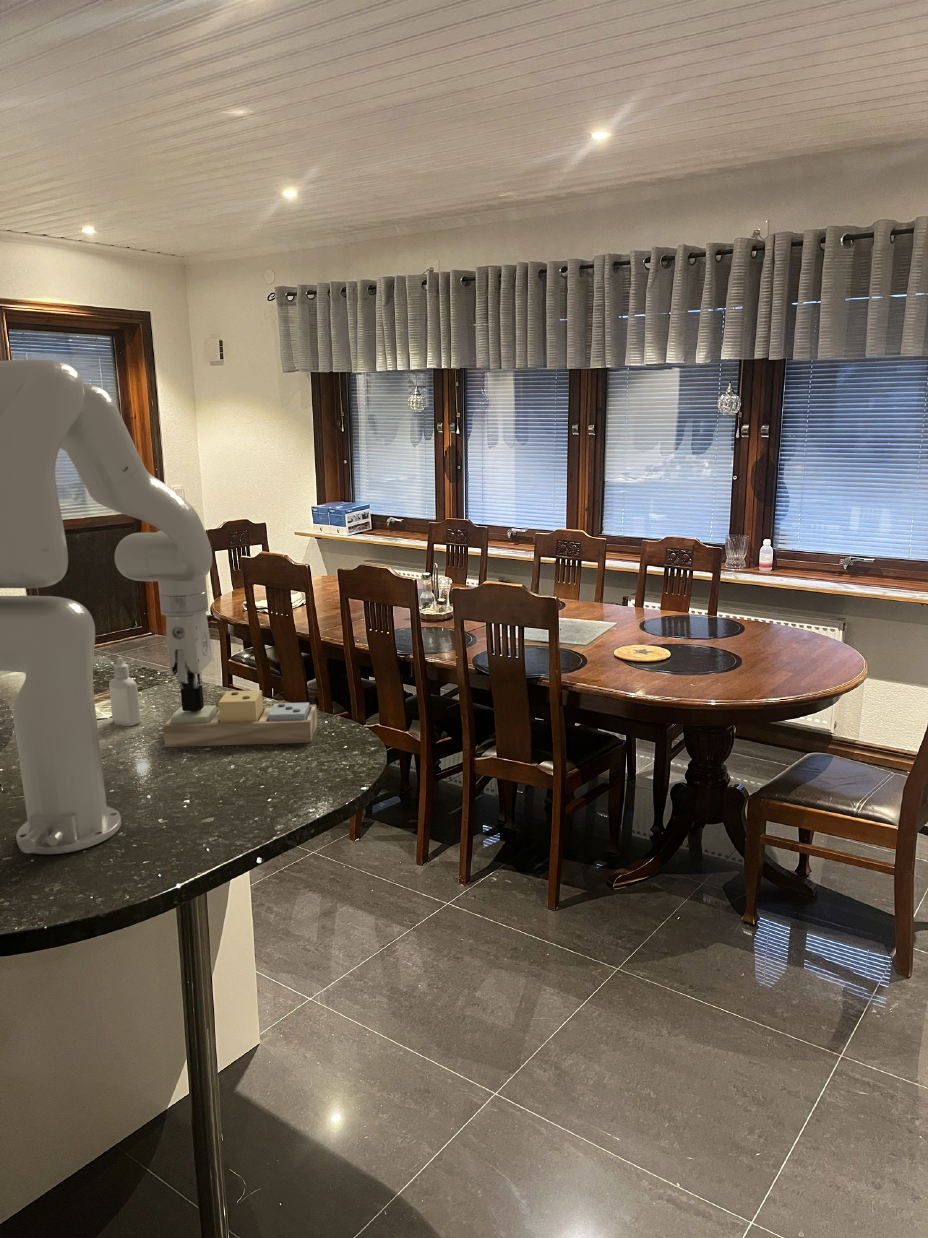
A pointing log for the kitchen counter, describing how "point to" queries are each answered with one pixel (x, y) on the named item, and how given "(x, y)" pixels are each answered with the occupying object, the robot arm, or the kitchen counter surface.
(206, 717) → the tile one sage
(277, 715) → the tile three blue
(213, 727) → the tray
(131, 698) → the eye dropper bottle
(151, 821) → the kitchen counter surface
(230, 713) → the tile two ochre
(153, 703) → the kitchen counter surface
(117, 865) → the kitchen counter surface
